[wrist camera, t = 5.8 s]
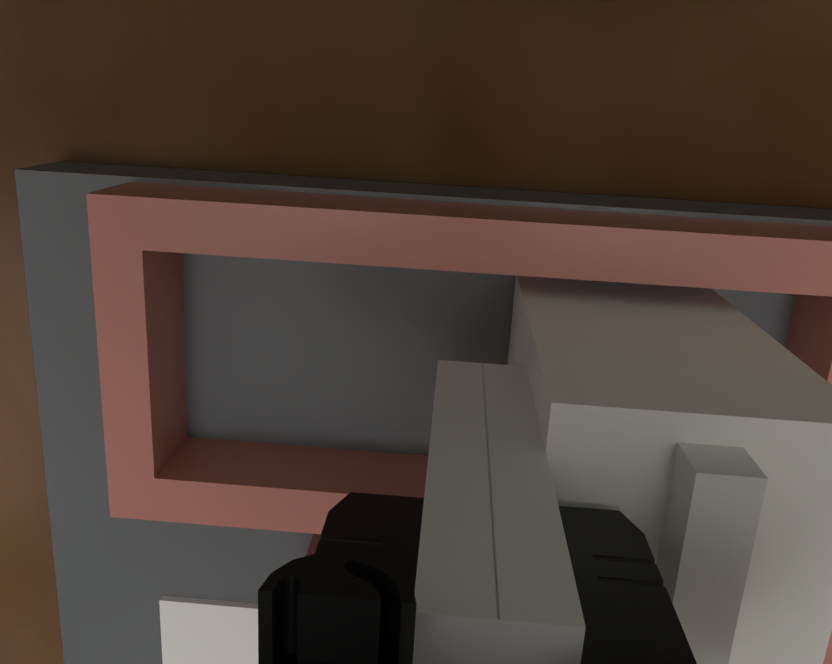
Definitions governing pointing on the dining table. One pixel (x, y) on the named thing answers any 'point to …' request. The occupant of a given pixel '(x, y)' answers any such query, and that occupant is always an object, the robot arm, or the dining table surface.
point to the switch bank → (305, 359)
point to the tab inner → (691, 453)
